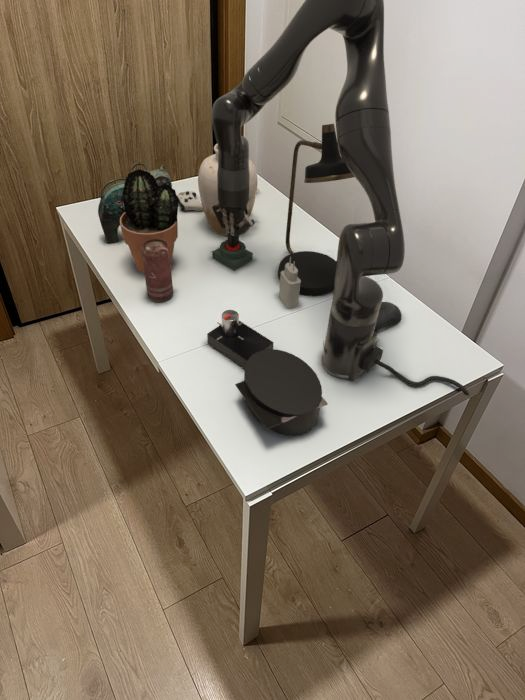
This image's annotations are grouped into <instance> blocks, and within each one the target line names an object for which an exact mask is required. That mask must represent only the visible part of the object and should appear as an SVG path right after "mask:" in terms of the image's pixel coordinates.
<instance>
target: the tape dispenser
mask: <svg viewBox="0 0 525 700" xmlns="http://www.w3.org/2000/svg"><path fill="white" fill-rule="evenodd" d="M234 386H235V387H236V388H237V390H238V391H239V393H240V394H241V396H242V397H243V398H244V401H245V404H246V407H247V409H248V410H249V412H250V413H251V415H252V416H253V417H254V418H255V420H256V421H257V422H259V423H260V424H261V425H262V426H263V427H264V428H265V430H266V431H267V430H269V431H272V432H274V433H276V434H279V435H282V436H289V437H297V436H298V437H299V436H302V435H305V434H308V433H309V432H310V431H313V429H314V428H315V426H316V425H317V423H318V421H319V415H320V408H322V407H324V406H327V405H329V403H328V402H327V400H326V399H325V398H324V397H323V395H322V394H323V387H322V384H321V380H320V379H319V377H318V375H317V373H316V372H315V371H314V370H313V368H312V367H311V366H310V364H308V363H307V362H306V361H304V360H303V359H302V358H300V357H298V356H296V355H295V354H293V353H291V352H288V351H285V350H281V349H274V348H273V349H268V350H262V351H258V352H256V353H255V354H253V355H252V356H251V357H250V358H249V359H248V361H247V362H246V365H245V369H244V379H243V380H242V381H240V382H237V383H235V384H234Z"/></svg>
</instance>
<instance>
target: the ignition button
mask: <svg viewBox="0 0 525 700" xmlns="http://www.w3.org/2000/svg"><path fill="white" fill-rule="evenodd" d="M226 249H227V250H229V251H237V250H239V249H240V245H239V244H238V245H237V246H235V247H233V248H232V247H231V246H229V245H228V243H227V244H226Z"/></svg>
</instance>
